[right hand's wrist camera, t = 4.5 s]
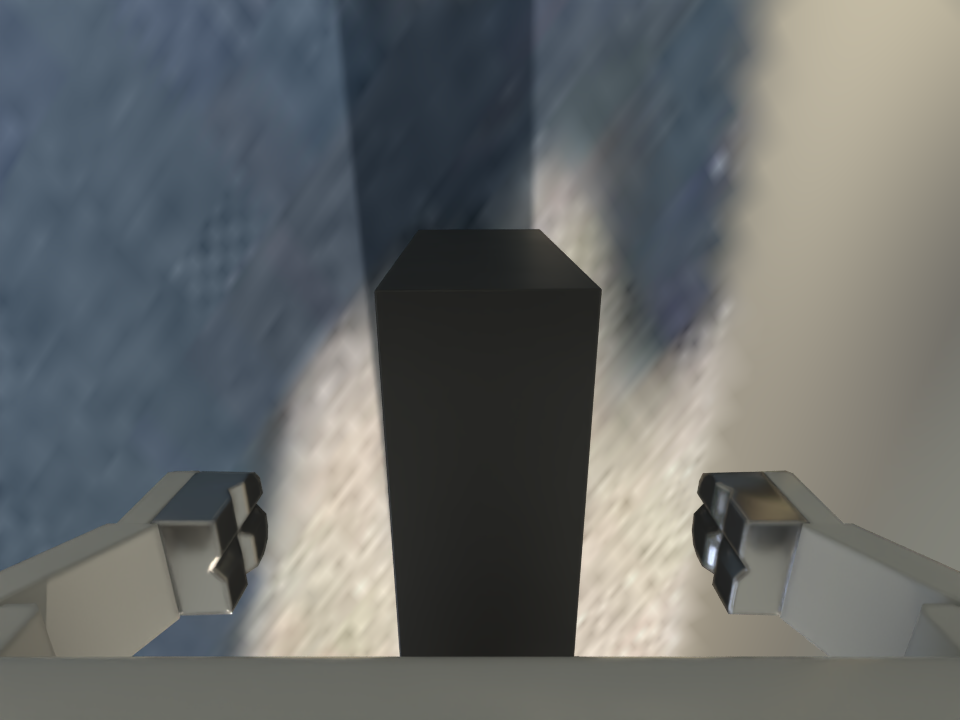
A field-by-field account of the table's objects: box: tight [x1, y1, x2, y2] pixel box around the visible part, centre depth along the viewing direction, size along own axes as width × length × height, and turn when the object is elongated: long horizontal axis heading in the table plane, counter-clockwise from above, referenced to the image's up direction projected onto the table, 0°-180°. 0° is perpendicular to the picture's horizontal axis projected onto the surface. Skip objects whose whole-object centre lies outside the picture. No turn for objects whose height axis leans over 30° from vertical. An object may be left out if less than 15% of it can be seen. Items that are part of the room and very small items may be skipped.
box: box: [374, 229, 602, 657], centre depth 24 cm, size 21×6×13 cm, turn 0°
